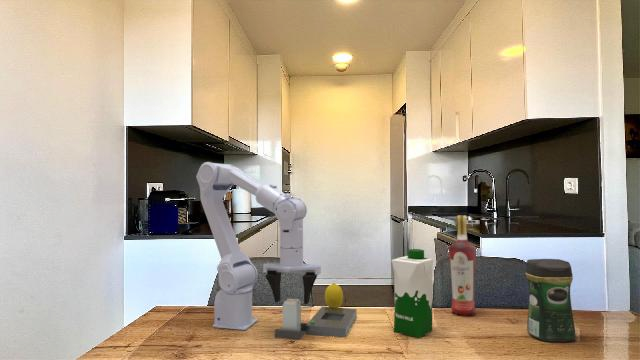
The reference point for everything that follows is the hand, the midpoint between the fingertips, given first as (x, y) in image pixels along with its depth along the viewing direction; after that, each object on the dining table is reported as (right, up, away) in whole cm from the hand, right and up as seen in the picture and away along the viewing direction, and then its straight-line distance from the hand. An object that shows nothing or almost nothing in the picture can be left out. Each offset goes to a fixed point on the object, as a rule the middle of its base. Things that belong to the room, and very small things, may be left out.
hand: (291, 302), depth 95 cm
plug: (0, -8, 0) cm, 8 cm away
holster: (0, -8, 0) cm, 8 cm away
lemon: (+11, -9, +19) cm, 23 cm away
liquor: (+48, -8, +15) cm, 51 cm away
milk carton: (+30, -8, +1) cm, 31 cm away
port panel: (+10, -8, +6) cm, 14 cm away
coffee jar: (+62, -8, -3) cm, 63 cm away
